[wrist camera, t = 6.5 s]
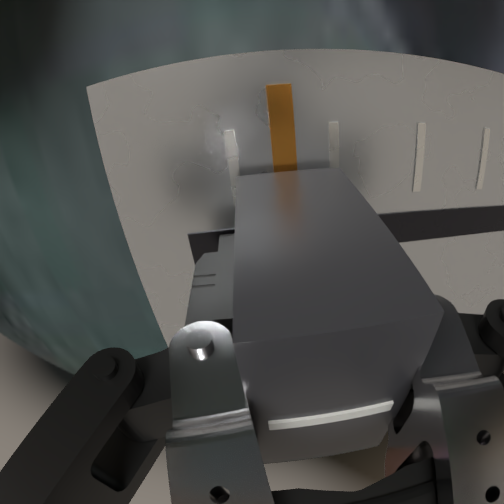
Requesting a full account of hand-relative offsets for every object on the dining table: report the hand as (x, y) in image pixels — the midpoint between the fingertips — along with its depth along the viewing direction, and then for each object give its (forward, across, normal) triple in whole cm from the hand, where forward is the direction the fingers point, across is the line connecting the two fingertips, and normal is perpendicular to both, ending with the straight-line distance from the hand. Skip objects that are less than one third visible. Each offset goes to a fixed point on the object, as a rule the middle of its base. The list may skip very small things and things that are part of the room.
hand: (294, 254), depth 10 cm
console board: (+3, -4, 0) cm, 5 cm away
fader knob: (+1, 0, 0) cm, 1 cm away
